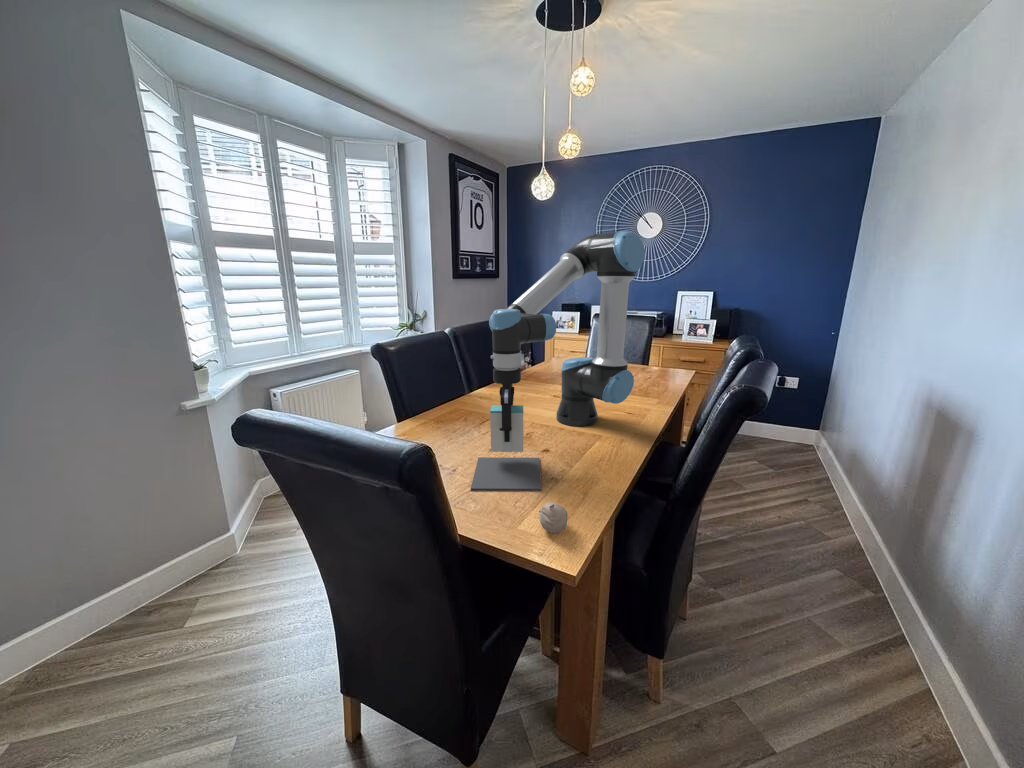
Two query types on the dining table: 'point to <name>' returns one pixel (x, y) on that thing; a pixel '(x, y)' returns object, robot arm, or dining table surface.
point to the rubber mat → (507, 474)
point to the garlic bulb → (553, 517)
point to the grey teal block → (515, 424)
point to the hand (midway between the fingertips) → (507, 447)
